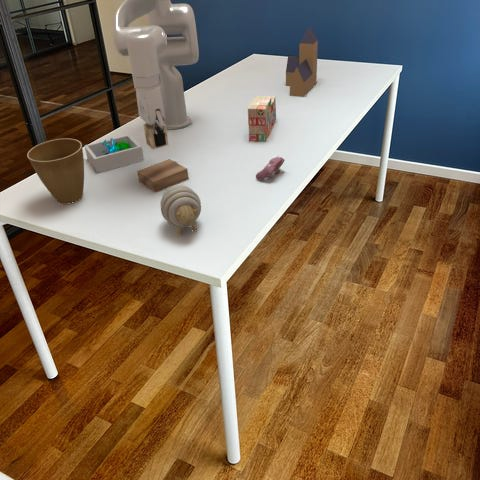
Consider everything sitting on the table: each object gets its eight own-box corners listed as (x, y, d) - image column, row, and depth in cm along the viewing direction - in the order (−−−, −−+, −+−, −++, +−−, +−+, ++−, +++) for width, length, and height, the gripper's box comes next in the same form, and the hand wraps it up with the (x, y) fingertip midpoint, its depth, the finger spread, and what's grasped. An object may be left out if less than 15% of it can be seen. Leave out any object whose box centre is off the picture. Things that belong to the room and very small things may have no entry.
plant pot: (55, 186, 152) (41, 138, 143) (101, 186, 150) (89, 138, 141) (34, 211, 140) (17, 160, 130) (84, 211, 138) (69, 160, 129)
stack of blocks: (260, 119, 189) (259, 87, 182) (276, 119, 187) (275, 88, 180) (249, 141, 172) (247, 107, 165) (266, 142, 170) (265, 108, 163)
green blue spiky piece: (111, 159, 160) (101, 138, 160) (99, 168, 164) (89, 147, 164) (136, 155, 170) (127, 135, 170) (124, 163, 174) (115, 144, 174)
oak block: (146, 143, 145) (143, 124, 141) (162, 139, 147) (159, 120, 143) (152, 149, 141) (149, 129, 138) (168, 145, 143) (165, 125, 140)
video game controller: (265, 187, 147) (274, 170, 142) (253, 178, 148) (261, 161, 143) (280, 173, 154) (289, 157, 149) (269, 165, 154) (277, 148, 149)
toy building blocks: (316, 83, 220) (318, 25, 206) (303, 97, 207) (304, 35, 192) (290, 81, 225) (290, 24, 211) (276, 94, 211) (275, 34, 197)
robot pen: (87, 159, 167) (84, 145, 164) (131, 147, 173) (129, 134, 170) (97, 173, 158) (94, 159, 155) (144, 160, 164) (141, 146, 161)
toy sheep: (173, 246, 121) (167, 208, 115) (155, 215, 134) (148, 179, 128) (213, 234, 125) (208, 197, 118) (191, 205, 137) (186, 170, 131)
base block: (139, 182, 151) (136, 171, 149) (171, 170, 157) (169, 158, 155) (156, 193, 145) (154, 182, 143) (188, 180, 151) (187, 168, 149)
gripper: (124, 76, 138) (135, 136, 148) (145, 90, 126) (156, 155, 136) (149, 71, 141) (158, 130, 151) (171, 85, 128) (180, 148, 139)
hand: (157, 141), depth 143 cm, fingers closed on oak block, 5 cm apart
